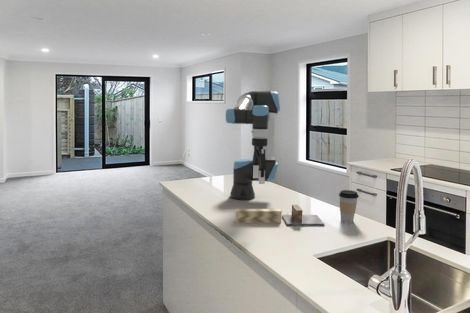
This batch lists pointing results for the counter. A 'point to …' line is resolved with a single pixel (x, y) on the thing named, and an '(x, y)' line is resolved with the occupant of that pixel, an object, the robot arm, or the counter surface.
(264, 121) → the robot arm
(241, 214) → the beech bar
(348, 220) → the coffee cup
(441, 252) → the counter surface
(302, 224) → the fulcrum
